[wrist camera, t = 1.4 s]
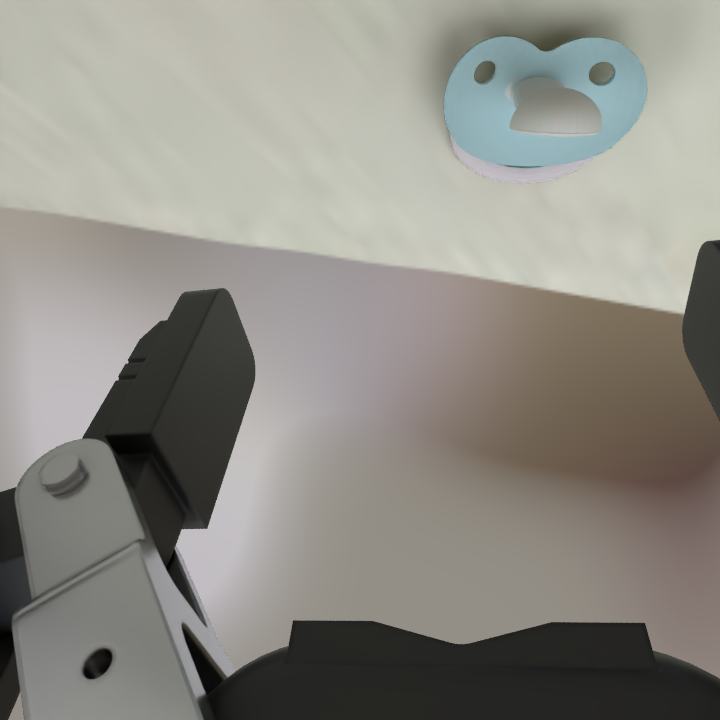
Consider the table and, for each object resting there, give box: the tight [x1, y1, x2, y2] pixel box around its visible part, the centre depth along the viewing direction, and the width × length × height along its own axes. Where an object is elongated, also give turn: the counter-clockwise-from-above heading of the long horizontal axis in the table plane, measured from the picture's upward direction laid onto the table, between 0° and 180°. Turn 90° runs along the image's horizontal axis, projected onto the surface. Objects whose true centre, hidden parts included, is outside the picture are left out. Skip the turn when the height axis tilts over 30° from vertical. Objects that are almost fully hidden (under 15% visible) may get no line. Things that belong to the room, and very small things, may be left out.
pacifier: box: [444, 36, 647, 184], centre depth 22 cm, size 7×6×6 cm
